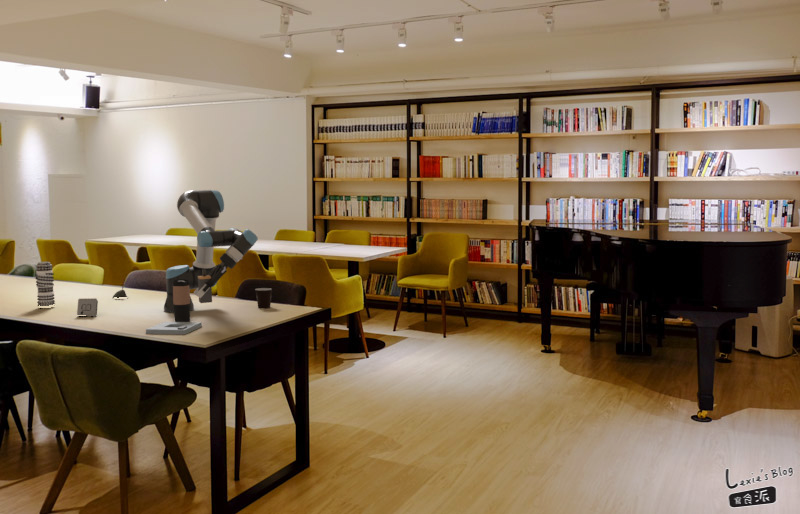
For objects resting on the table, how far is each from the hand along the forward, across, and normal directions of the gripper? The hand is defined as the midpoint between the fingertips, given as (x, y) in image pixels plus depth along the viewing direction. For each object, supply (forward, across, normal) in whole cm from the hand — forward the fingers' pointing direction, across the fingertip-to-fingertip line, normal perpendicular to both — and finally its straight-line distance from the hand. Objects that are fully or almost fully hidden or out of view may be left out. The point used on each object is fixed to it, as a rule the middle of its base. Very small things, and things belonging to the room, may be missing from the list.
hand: (196, 295), depth 325 cm
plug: (0, 0, -5) cm, 5 cm away
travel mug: (+14, +20, -8) cm, 25 cm away
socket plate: (+18, -1, -3) cm, 18 cm away
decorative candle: (+55, +98, +34) cm, 117 cm away
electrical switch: (+42, +58, +21) cm, 75 cm away
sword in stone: (+28, +114, +7) cm, 117 cm away
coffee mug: (-19, +40, -41) cm, 61 cm away
